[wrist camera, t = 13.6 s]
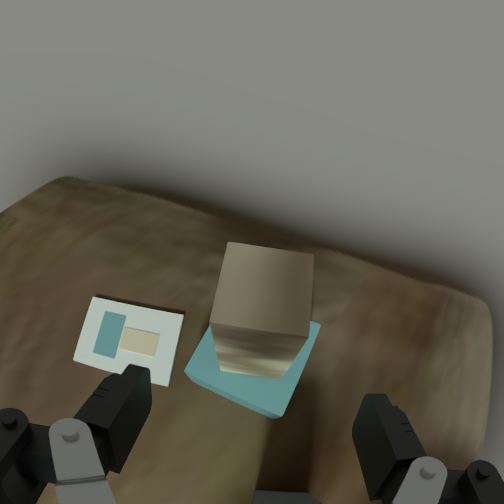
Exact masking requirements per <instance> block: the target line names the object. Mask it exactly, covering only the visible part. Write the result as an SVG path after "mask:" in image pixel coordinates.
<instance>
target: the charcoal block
mask: <svg viewBox="0 0 504 504" xmlns="http://www.w3.org/2000/svg"><path fill="white" fill-rule="evenodd" d="M253 504H322V503H320V502H319V501H318V500H316V499H315V498H314V497H312V496H311V495H310V494H308V493H301V492H277V491H264V490H255V494H254V500H253Z"/></svg>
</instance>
